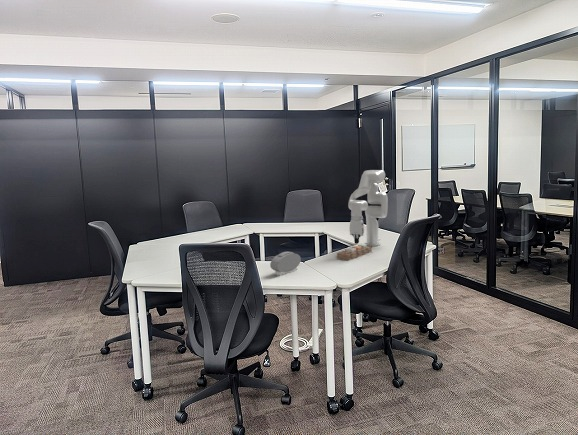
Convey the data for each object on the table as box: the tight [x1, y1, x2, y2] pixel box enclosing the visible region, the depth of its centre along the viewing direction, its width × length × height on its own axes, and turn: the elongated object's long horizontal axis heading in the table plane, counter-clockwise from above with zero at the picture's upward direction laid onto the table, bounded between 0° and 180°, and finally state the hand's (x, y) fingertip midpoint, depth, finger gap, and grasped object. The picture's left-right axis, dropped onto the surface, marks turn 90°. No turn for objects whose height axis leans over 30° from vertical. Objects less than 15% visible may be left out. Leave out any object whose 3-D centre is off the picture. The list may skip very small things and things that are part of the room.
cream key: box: [345, 247, 356, 252], centre depth 306 cm, size 5×5×3 cm
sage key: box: [357, 243, 367, 248], centre depth 318 cm, size 5×5×3 cm
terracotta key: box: [351, 245, 362, 250], centre depth 312 cm, size 5×5×3 cm
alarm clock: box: [269, 251, 302, 276], centre depth 269 cm, size 23×6×13 cm, turn 141°
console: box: [336, 246, 373, 261], centre depth 310 cm, size 32×10×4 cm, turn 141°
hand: (356, 243), depth 311 cm, fingers closed
